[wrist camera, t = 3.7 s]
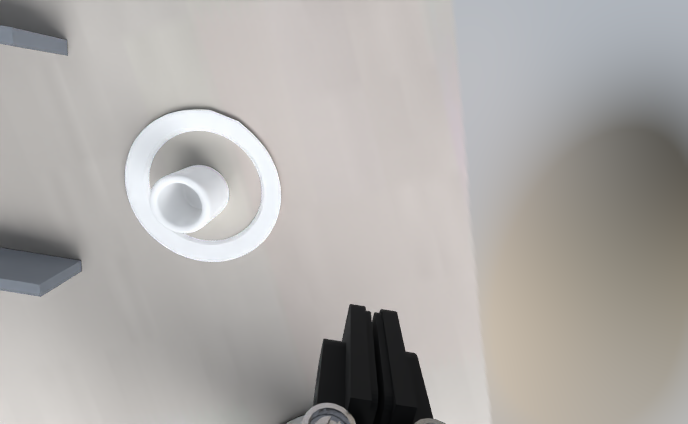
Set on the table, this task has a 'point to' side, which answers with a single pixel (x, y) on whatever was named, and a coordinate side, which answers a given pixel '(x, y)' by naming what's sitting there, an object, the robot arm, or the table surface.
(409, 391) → the robot arm
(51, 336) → the table surface
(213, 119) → the candle holder
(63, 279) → the box
